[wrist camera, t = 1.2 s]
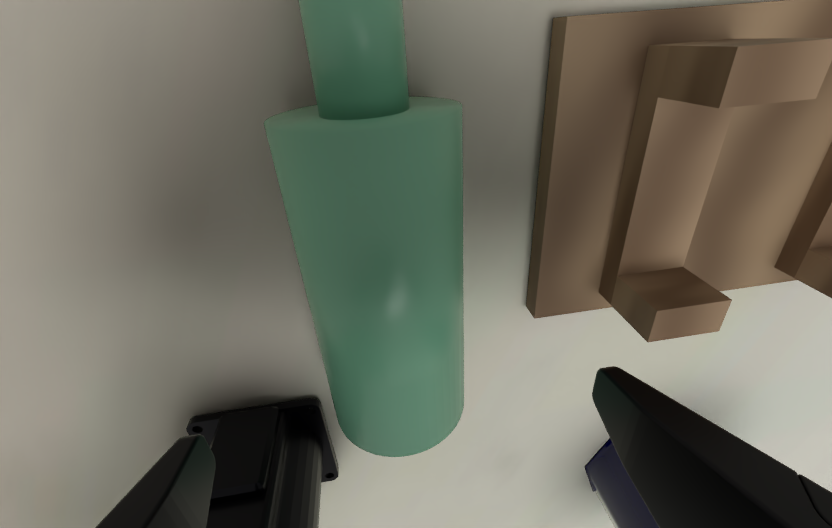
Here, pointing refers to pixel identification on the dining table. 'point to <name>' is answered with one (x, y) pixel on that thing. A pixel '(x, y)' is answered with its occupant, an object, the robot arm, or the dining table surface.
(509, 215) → the dining table surface
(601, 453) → the bottle
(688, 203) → the bottle rest
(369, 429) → the small bottle
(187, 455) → the robot arm
